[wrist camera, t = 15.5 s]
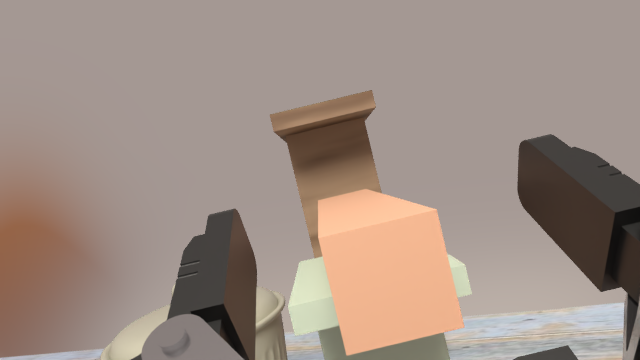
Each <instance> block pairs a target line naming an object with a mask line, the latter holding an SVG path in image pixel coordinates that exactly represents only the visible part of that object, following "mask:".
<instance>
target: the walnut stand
mask: <svg viewBox="0 0 640 360" xmlns="http://www.w3.org/2000/svg"><path fill="white" fill-rule="evenodd" d="M375 108H376V106H375V102H374V97H373V93H372V90H370V91H366V92H362V93H357V94H353V95H349V96H346V97H341V98H337V99H333V100H329V101H324V102H320V103H316V104H312V105H308V106H304V107H300V108H295V109H291V110H288V111H283V112H279V113H275V114H271V115H270V118H271V122H272V126H273V130H274V132H275V133H276V134H277V135H278V136H280V137H281V138H282V139H283V140H284V141H285V142H287V145H288V149H289V153H290V157H291V161H292V166H293V170H294V174H295V178H296V182H297V186H298V190H299V195H300V199H301V203H302V207H303V211H304V215H305V219H306V224H307V227H308V231H309V236H310V240H311V244H312V248H313V253H314V256H315V258H318V257H322V252H321V247H320V243H319V239H318V200H322V199H326V198H330V197H334V196H338V195H342V194H347V193H351V192H355V191H359V190H363V189H368V190H371V191H375V192H378V193H381V189H380V184H379V180H378V176H377V172H376V168H375V163H374V159H373V155H372V151H371V147H370V142H369V138H368V134H367V130H366V126H365V120H366V119H367V117H368V116H369V115H370V114H371V112H372V111H373V110H374V109H375Z"/></svg>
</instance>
